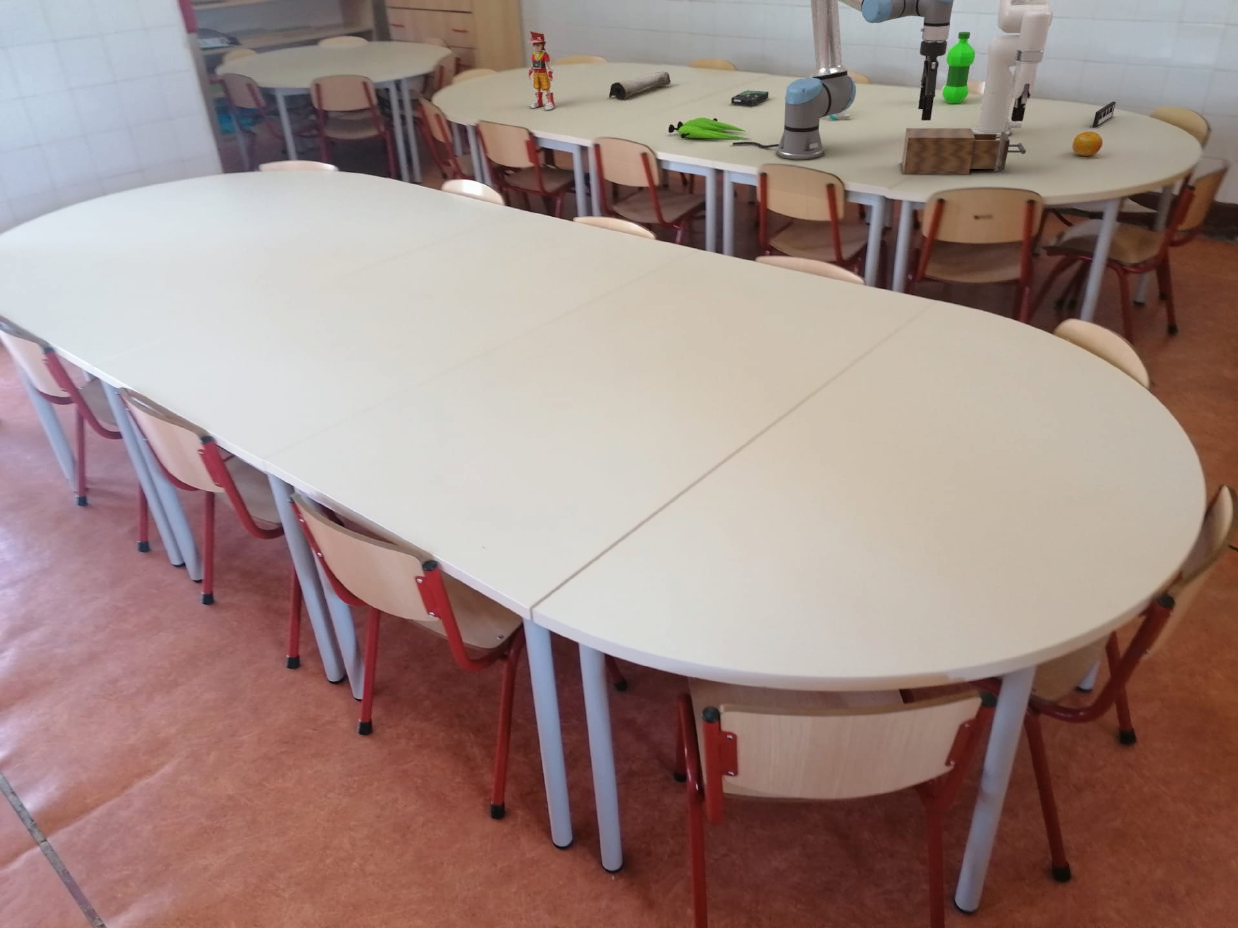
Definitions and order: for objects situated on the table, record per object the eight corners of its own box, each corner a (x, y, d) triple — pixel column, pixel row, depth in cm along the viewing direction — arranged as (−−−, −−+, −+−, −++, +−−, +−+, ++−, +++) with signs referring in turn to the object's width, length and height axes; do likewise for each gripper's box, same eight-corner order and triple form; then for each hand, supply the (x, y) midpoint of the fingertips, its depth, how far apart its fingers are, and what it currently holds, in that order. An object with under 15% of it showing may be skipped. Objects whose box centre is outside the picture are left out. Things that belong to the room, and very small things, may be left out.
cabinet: (964, 164, 290) (970, 128, 284) (968, 174, 282) (975, 137, 275) (901, 163, 294) (906, 128, 288) (903, 173, 285) (908, 137, 279)
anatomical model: (813, 89, 348) (838, 82, 348) (816, 116, 354) (841, 109, 353) (823, 98, 336) (849, 91, 335) (826, 126, 342) (852, 119, 341)
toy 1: (525, 109, 381) (517, 32, 364) (534, 104, 388) (527, 28, 371) (550, 110, 377) (543, 32, 360) (559, 105, 384) (553, 28, 367)
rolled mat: (651, 76, 408) (662, 61, 399) (662, 93, 408) (674, 79, 400) (605, 92, 391) (616, 77, 383) (617, 110, 391) (628, 95, 383)
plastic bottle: (973, 101, 354) (984, 32, 339) (955, 106, 349) (966, 36, 335) (952, 97, 361) (962, 29, 346) (934, 102, 356) (944, 33, 342)
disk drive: (753, 107, 365) (768, 98, 375) (754, 100, 363) (769, 91, 373) (730, 105, 370) (746, 96, 380) (730, 98, 368) (746, 89, 378)
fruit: (1068, 146, 288) (1086, 124, 285) (1065, 149, 295) (1083, 127, 292) (1091, 161, 286) (1109, 138, 283) (1087, 163, 294) (1105, 141, 291)
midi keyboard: (1096, 127, 316) (1099, 112, 313) (1092, 126, 317) (1095, 112, 314) (1112, 116, 326) (1116, 101, 323) (1108, 115, 327) (1112, 101, 324)
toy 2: (657, 137, 330) (731, 151, 317) (658, 122, 327) (732, 136, 314) (693, 125, 350) (763, 137, 338) (694, 111, 347) (764, 123, 335)
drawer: (1017, 161, 286) (1023, 132, 281) (1022, 171, 278) (1029, 140, 273) (939, 161, 291) (943, 132, 286) (942, 170, 283) (946, 140, 278)
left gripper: (918, 33, 278) (909, 104, 290) (924, 49, 258) (914, 125, 270) (943, 32, 276) (933, 104, 288) (951, 48, 256) (940, 125, 269)
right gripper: (1011, 51, 271) (1000, 114, 282) (1019, 61, 259) (1007, 127, 270) (1038, 51, 270) (1025, 114, 280) (1047, 61, 258) (1033, 127, 268)
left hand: (924, 114), depth 279 cm, fingers open, 13 cm apart
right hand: (1016, 120), depth 275 cm, fingers closed
